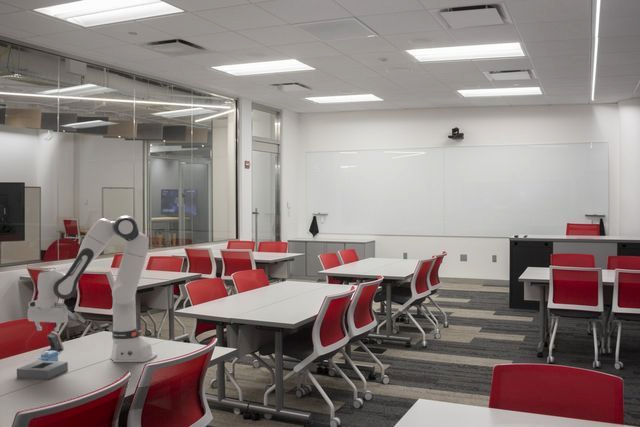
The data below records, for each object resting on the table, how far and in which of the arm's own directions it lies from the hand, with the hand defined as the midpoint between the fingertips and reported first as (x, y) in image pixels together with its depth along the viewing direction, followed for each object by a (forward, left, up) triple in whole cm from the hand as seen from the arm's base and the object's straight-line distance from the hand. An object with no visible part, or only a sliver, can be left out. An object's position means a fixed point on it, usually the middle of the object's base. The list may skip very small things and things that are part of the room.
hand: (48, 330), depth 283 cm
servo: (0, 0, -17) cm, 17 cm away
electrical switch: (+16, -26, -17) cm, 35 cm away
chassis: (-7, +14, -17) cm, 23 cm away
